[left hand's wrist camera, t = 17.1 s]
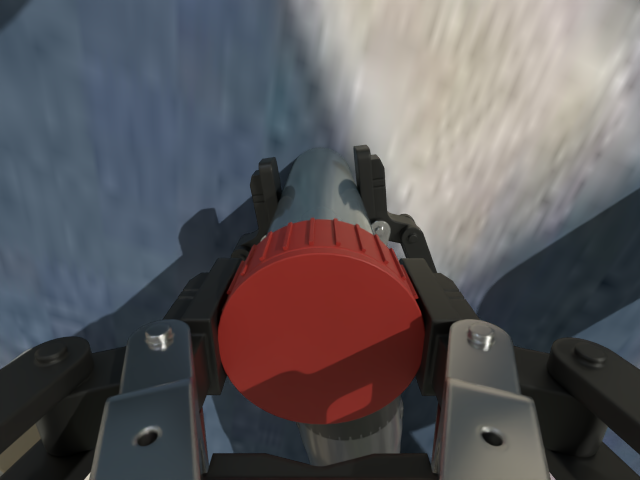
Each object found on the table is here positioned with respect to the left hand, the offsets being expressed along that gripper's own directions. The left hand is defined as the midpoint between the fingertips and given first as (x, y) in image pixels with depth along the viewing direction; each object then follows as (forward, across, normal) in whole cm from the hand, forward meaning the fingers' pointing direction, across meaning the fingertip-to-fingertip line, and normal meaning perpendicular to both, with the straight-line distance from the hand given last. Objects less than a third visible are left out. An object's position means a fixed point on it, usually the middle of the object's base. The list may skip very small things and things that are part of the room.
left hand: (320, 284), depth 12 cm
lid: (-3, 0, 0) cm, 3 cm away
